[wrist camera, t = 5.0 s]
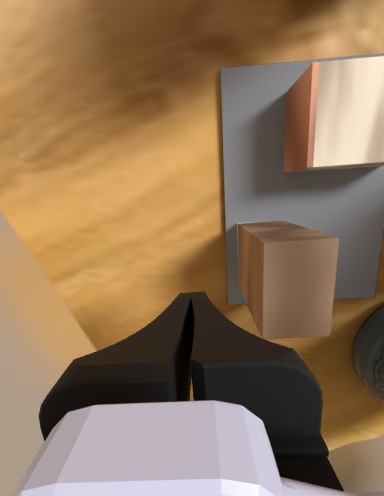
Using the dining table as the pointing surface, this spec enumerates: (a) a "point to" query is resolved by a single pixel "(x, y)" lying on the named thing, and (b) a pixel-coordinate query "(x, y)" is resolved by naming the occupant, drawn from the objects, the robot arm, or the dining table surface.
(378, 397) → the canister
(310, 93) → the ash block
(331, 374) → the dining table surface
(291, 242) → the walnut block
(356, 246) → the felt mat
